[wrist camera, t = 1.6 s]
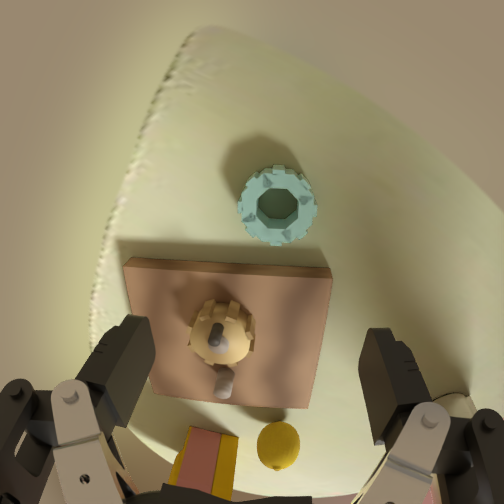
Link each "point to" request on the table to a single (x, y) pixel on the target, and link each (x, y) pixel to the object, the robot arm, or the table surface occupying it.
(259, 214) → the teal gear
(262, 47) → the table surface
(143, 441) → the table surface
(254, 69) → the table surface
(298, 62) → the table surface
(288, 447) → the lemon
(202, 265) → the gear board
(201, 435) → the alarm clock
